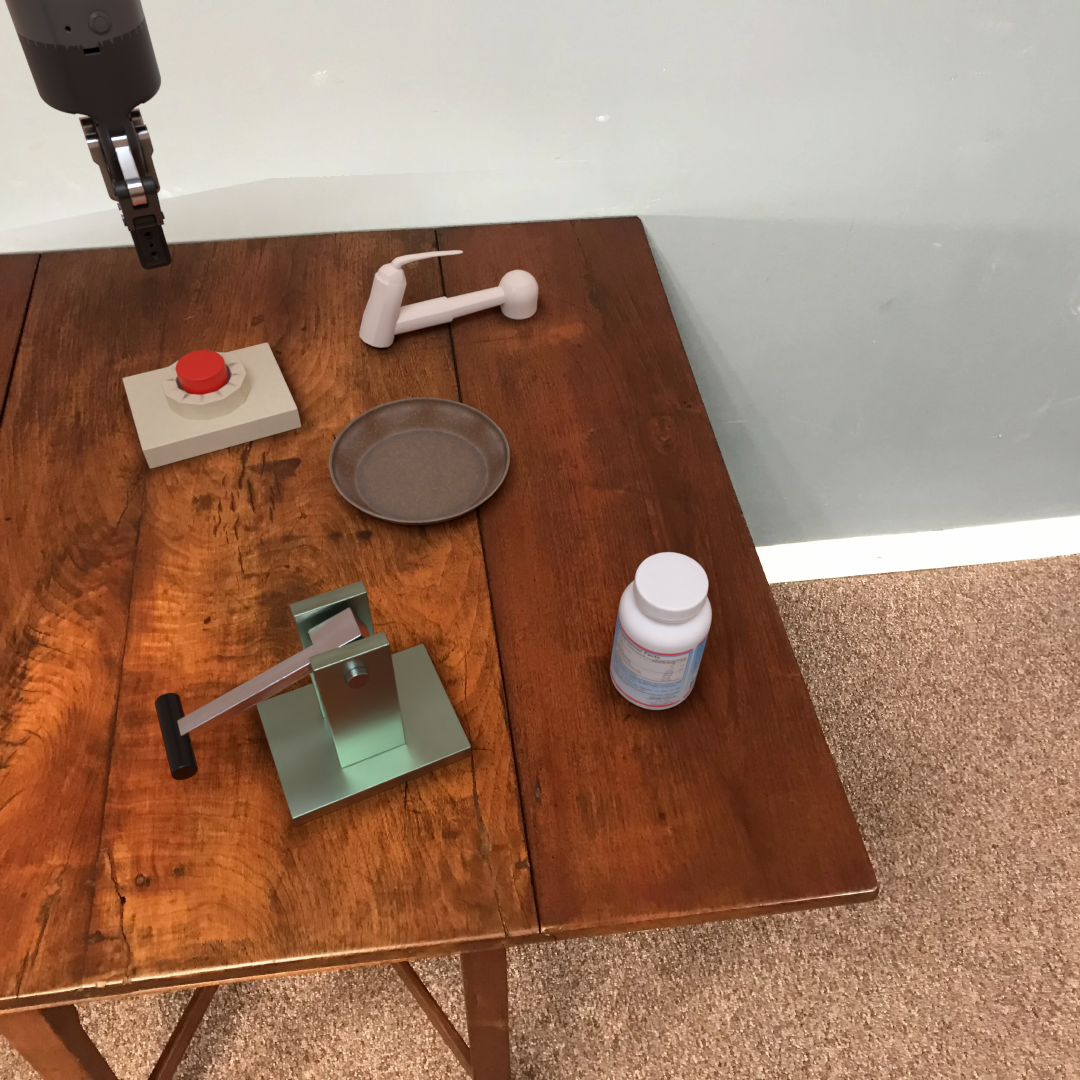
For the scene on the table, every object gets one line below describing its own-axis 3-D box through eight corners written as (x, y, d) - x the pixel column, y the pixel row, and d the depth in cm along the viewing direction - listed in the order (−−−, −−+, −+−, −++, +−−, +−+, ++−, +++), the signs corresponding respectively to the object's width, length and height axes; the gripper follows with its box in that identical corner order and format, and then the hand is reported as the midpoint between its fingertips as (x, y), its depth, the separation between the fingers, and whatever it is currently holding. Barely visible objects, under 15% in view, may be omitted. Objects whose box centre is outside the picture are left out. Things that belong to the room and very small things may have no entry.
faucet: (527, 355, 97) (560, 271, 91) (365, 349, 88) (389, 254, 82) (512, 333, 99) (543, 249, 93) (353, 324, 90) (375, 231, 84)
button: (186, 400, 79) (180, 384, 78) (176, 372, 81) (170, 356, 80) (233, 388, 80) (228, 372, 79) (222, 361, 82) (218, 344, 81)
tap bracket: (295, 827, 59) (253, 726, 49) (259, 712, 64) (215, 600, 54) (472, 755, 62) (466, 648, 53) (424, 652, 68) (410, 536, 58)
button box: (150, 469, 79) (135, 434, 76) (129, 396, 84) (115, 361, 81) (301, 427, 83) (294, 392, 79) (272, 360, 88) (263, 325, 85)
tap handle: (185, 786, 54) (161, 772, 52) (167, 713, 57) (144, 698, 55) (386, 672, 54) (369, 655, 52) (358, 606, 57) (341, 587, 56)
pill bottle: (651, 626, 70) (672, 527, 61) (711, 682, 67) (741, 585, 58) (591, 670, 67) (603, 572, 58) (650, 729, 64) (672, 636, 56)
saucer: (386, 400, 85) (383, 376, 83) (536, 447, 82) (537, 424, 80) (298, 510, 76) (292, 487, 74) (463, 568, 73) (461, 545, 71)
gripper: (2, -16, 60) (91, 229, 73) (24, 66, 52) (119, 323, 65) (123, -30, 62) (188, 210, 75) (162, 47, 55) (227, 299, 68)
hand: (156, 262), depth 70 cm, fingers closed
